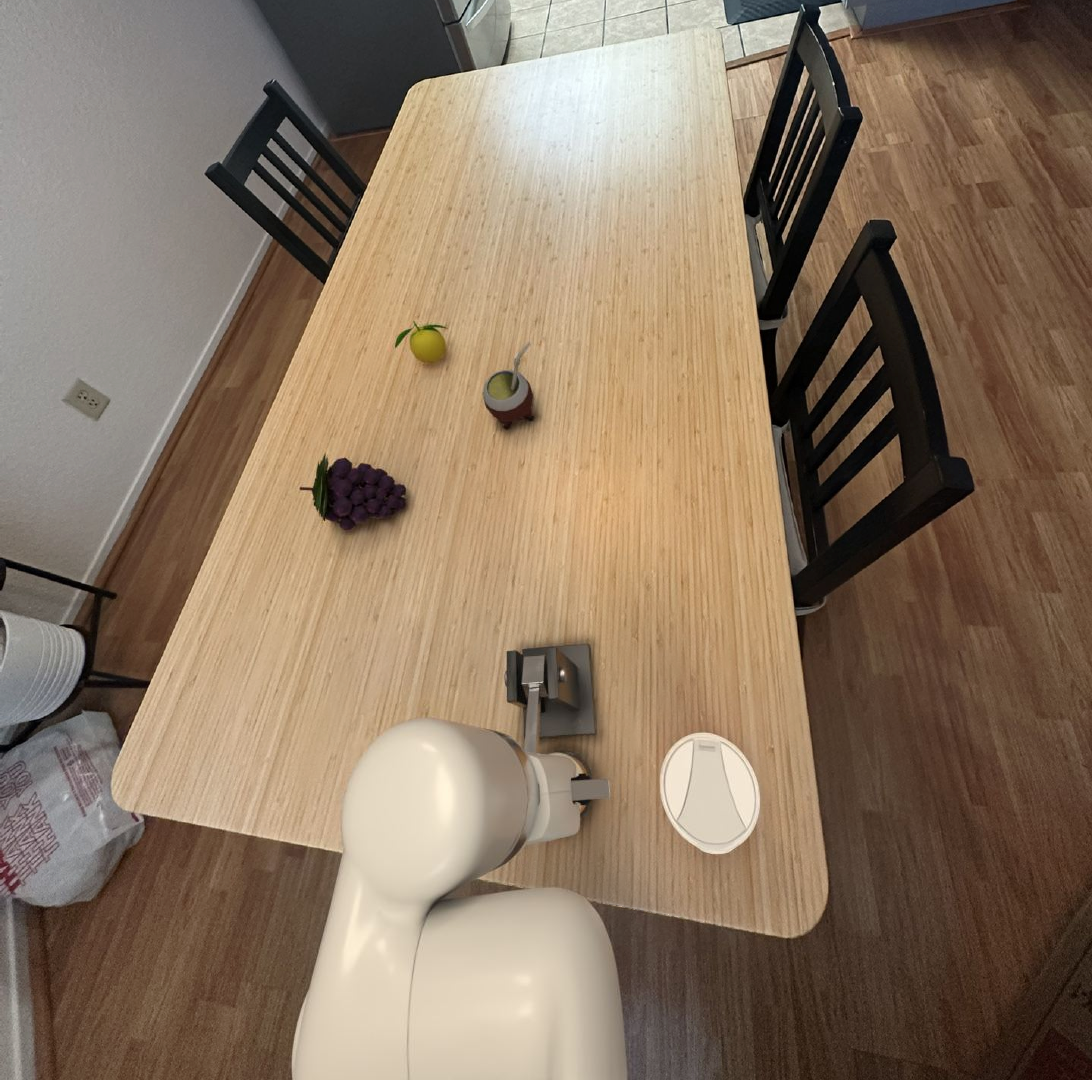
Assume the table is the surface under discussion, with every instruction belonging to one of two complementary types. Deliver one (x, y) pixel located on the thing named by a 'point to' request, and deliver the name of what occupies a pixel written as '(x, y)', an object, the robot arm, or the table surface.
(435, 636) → the table surface
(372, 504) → the fruit
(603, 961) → the robot arm
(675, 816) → the coffee cup
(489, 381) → the mate gourd
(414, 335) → the lemon
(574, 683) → the lever base stand
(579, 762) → the cake
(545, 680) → the lever
